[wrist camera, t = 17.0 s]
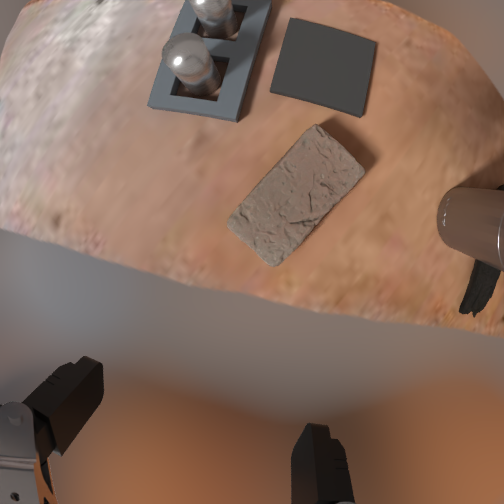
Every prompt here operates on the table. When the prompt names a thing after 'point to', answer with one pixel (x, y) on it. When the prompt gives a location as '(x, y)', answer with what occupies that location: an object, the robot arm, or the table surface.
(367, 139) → the table surface
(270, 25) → the table surface
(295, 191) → the brick
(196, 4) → the cylinder
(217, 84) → the cylinder
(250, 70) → the grey slotted holder
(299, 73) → the mat
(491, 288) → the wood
